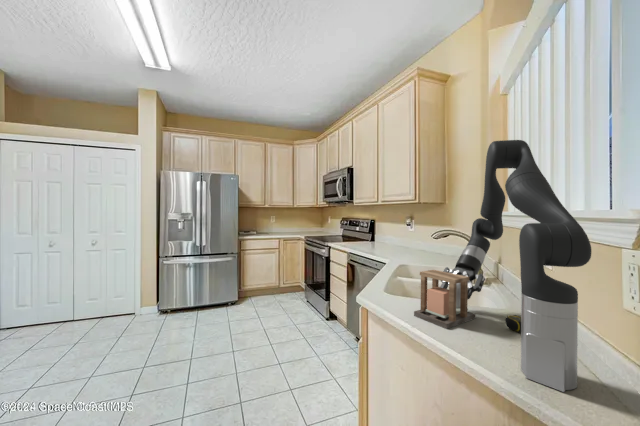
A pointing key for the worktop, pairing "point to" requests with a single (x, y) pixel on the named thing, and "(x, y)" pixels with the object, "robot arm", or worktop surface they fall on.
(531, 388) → the worktop surface
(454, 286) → the brown table-shaped piece
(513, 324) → the tape measure
